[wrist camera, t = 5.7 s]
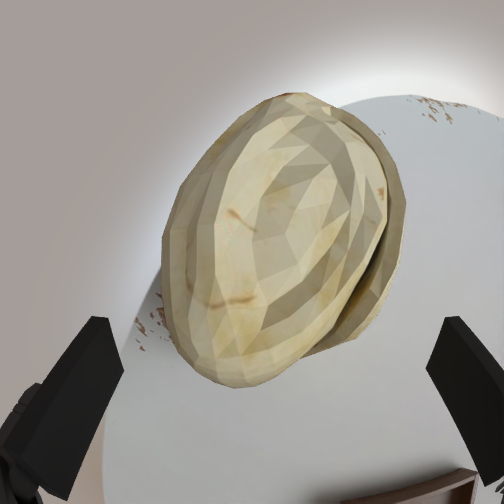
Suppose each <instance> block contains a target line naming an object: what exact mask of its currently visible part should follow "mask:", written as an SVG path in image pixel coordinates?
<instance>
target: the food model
mask: <svg viewBox="0 0 504 504" xmlns="http://www.w3.org/2000/svg"><path fill="white" fill-rule="evenodd" d="M405 210H406V199H405V196H404V192H403V188H402V184H401V181H400V177H399V174H398V170H397V167H396V164H395V162H394V161H393V159H392V157H391V156H390V154H389V152H388V151H387V149H386V147H385V146H384V144H383V142H382V141H381V139H380V138H379V137H378V136H377V135H376V134H375V133H374V132H373V131H372V130H371V129H370V128H369V127H368V126H367V125H366V124H364V123H363V122H362V121H360V120H359V119H358V118H357V117H355V116H354V115H352V114H350V113H348V112H346V111H344V110H342V109H338V108H336V107H334V106H331V105H329V104H327V103H325V102H323V101H321V100H320V99H318V98H316V97H314V96H312V95H310V94H308V93H285V94H282V95H279V96H276V97H273V98H270V99H267V100H265V101H263V102H261V103H260V104H258V105H256V106H255V107H254V108H252V109H250V110H249V111H247V112H246V113H245V114H243V115H241V116H240V117H239V118H238V119H237V120H236V121H235V122H234V123H233V124H232V125H231V126H230V127H229V128H228V129H227V130H226V131H225V132H224V133H223V134H222V135H221V136H220V137H219V138H218V139H217V140H216V141H215V143H214V144H213V145H212V146H211V147H210V148H209V149H208V150H207V151H206V153H205V154H204V156H203V157H202V158H201V159H200V161H199V162H198V163H197V164H196V166H195V167H194V169H193V170H192V171H191V172H190V174H189V175H188V177H187V178H186V179H185V181H184V182H183V183H182V185H181V186H180V188H179V191H178V193H177V196H176V199H175V202H174V205H173V207H172V210H171V213H170V216H169V218H168V221H167V225H166V227H165V230H164V233H163V236H162V259H161V293H162V300H163V306H164V312H165V318H166V324H167V328H168V330H169V333H170V335H171V337H172V340H173V342H174V344H175V347H176V349H177V351H178V353H179V354H180V355H181V356H182V357H183V358H184V359H185V360H186V361H187V362H188V363H189V364H190V365H191V366H192V368H193V369H194V370H195V371H196V372H198V373H199V374H201V375H202V376H204V377H206V378H208V379H210V380H212V381H213V382H215V383H218V384H221V385H224V386H228V387H231V388H245V387H255V386H257V385H260V384H262V383H264V382H266V381H269V380H271V379H273V378H275V377H276V376H277V375H279V374H280V373H282V372H283V371H284V370H286V369H287V368H288V367H290V366H291V365H292V364H294V363H295V362H296V361H298V360H299V359H301V358H304V357H307V356H309V355H312V354H315V353H318V352H321V351H323V350H326V349H329V348H331V347H334V346H336V345H339V344H341V343H344V342H347V341H350V340H353V339H356V338H357V337H358V336H359V335H360V334H361V333H362V332H363V331H364V330H365V328H366V327H367V326H368V325H369V324H370V323H371V322H372V321H373V320H374V319H375V317H376V316H377V315H378V313H379V311H380V309H381V307H382V305H383V303H384V301H385V299H386V297H387V295H388V292H389V290H390V287H391V285H392V282H393V279H394V277H395V274H396V271H397V269H398V266H399V263H400V256H401V248H402V240H403V231H404V221H405Z"/></svg>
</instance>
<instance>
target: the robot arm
mask: <svg viewBox="0 0 504 504" xmlns="http://www.w3.org/2000/svg"><path fill="white" fill-rule="evenodd" d="M425 369H426V370H427V372H428V374H429V376H430V377H431V379H432V381H433V383H434V384H435V386H436V388H437V390H438V392H439V393H440V395H441V397H442V399H443V401H444V403H445V405H446V406H447V408H448V410H449V412H450V414H451V416H452V418H453V420H454V422H455V424H456V426H457V428H458V430H459V432H460V434H461V436H462V438H463V440H464V442H465V444H466V446H467V448H468V450H469V452H470V455H471V457H472V459H473V461H474V463H475V466H476V468H477V470H478V472H479V475H480V477H481V479H482V482H483V484H484V486H485V487H486V486H488V485H490V484H492V483H493V482H495V481H497V480H499V479H500V478H501V477H503V476H504V370H503V369H502V368H501V366H500V365H499V364H498V362H497V361H496V360H495V359H494V357H493V356H492V355H491V354H490V352H489V351H488V350H487V349H486V347H485V346H484V345H483V344H482V342H481V341H480V340H479V339H478V338H477V336H476V335H475V334H474V333H473V332H472V331H471V329H470V328H469V327H468V326H467V325H466V324H465V322H464V321H463V320H462V319H461V318H460V317H459V316H453V317H445V319H444V322H443V325H442V328H441V331H440V333H439V336H438V339H437V341H436V344H435V347H434V349H433V352H432V354H431V357H430V359H429V361H428V364H427V366H426V368H425ZM123 372H124V369H123V366H122V363H121V360H120V357H119V354H118V350H117V347H116V344H115V340H114V337H113V334H112V330H111V327H110V323H109V319H108V318H105V317H95V316H91V318H90V319H89V320H88V321H87V323H86V324H85V325H84V327H83V328H82V329H81V331H80V332H79V333H78V335H77V336H76V337H75V339H74V340H73V341H72V342H71V344H70V345H69V347H68V348H67V349H66V351H65V352H64V353H63V355H62V356H61V357H60V359H59V360H58V362H57V363H56V364H55V366H54V367H53V369H52V370H51V371H50V373H49V374H48V376H47V377H46V379H45V380H44V381H43V383H42V384H39V383H35V384H34V385H32V386H31V387H30V388H28V389H27V390H26V391H25V392H24V393H23V395H22V396H21V398H20V399H19V401H18V404H16V405H15V407H14V408H13V412H11V413H10V414H9V416H8V417H7V419H6V420H5V422H4V423H3V425H2V427H1V428H0V504H43V502H42V498H41V496H40V494H39V492H38V491H37V490H38V487H39V485H40V486H41V487H42V488H43V489H44V490H45V491H46V492H48V493H49V494H51V495H53V496H56V497H58V498H60V499H63V500H65V501H67V500H68V497H69V494H70V492H71V490H72V487H73V484H74V482H75V479H76V477H77V474H78V472H79V469H80V467H81V465H82V462H83V460H84V457H85V455H86V453H87V450H88V448H89V446H90V443H91V441H92V439H93V437H94V434H95V432H96V430H97V427H98V425H99V423H100V421H101V419H102V417H103V414H104V412H105V410H106V408H107V406H108V403H109V401H110V399H111V397H112V395H113V393H114V391H115V389H116V387H117V384H118V382H119V380H120V378H121V376H122V374H123ZM503 487H504V481H503V482H502V483H501V484H500V485H499V486H498V487H497V488H496V491H495V492H498V491H499V490H500V489H502V488H503ZM500 493H502V494H503V498H502V501H501V504H504V489H503V490H502V491H501V492H500Z"/></svg>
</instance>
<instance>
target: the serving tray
mask: <svg viewBox="0 0 504 504" xmlns="http://www.w3.org/2000/svg"><path fill="white" fill-rule="evenodd" d="M478 480H479V472H476V471H473V470H469V469H466V468H463V469H460V470H458V471H455V472H452V473H450V474H447V475H444V476H442V477H439V478H436V479H433V480H430V481H427V482H424V483H420V484H417V485H414V486H410V487H407V488H403V489H399V490H395V491H391V492H387V493H383V494H378V495H374V496H369V497H364V498H358V499H353V500H346V501H341V504H474V501H475V496H476V491H477V486H478Z"/></svg>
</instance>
